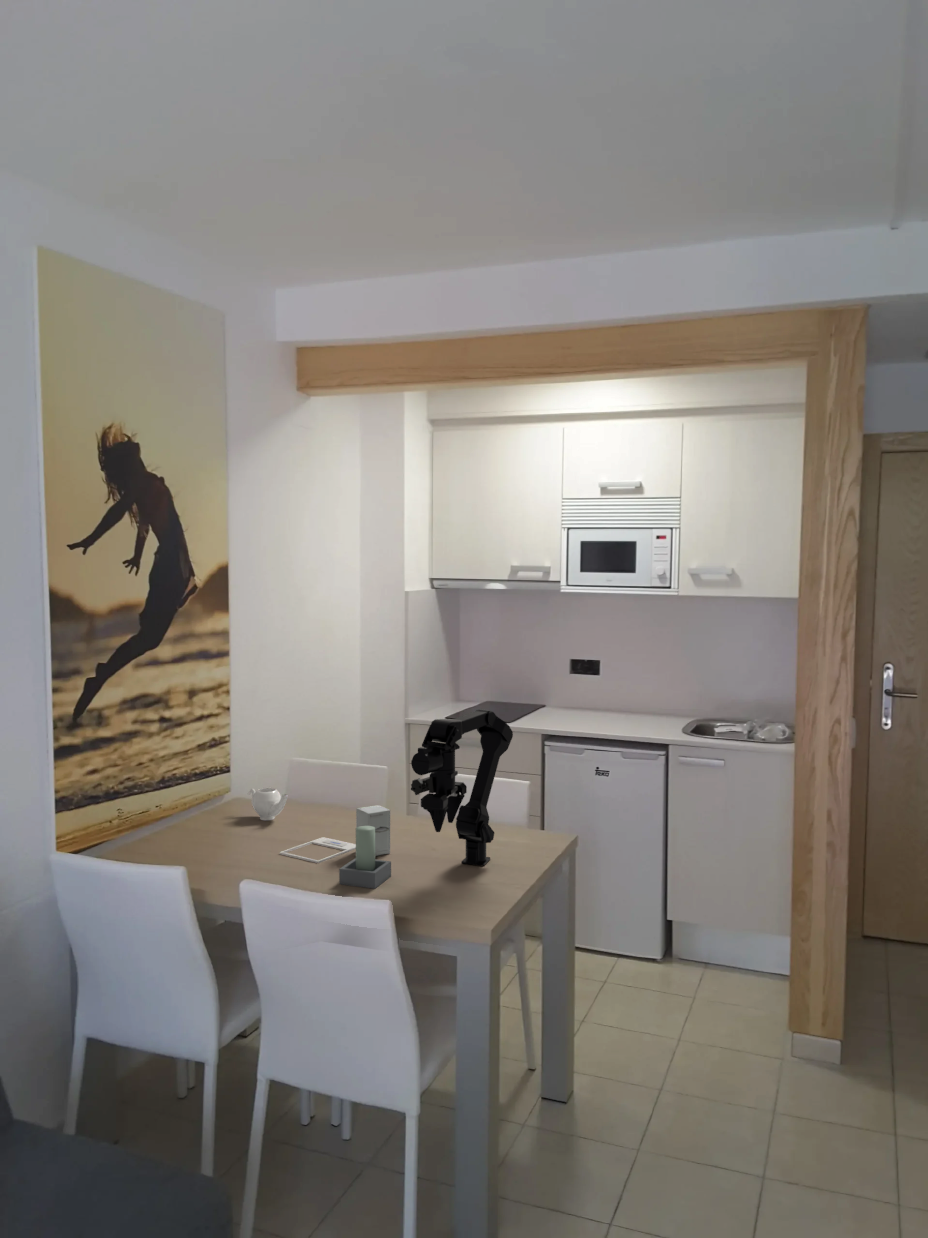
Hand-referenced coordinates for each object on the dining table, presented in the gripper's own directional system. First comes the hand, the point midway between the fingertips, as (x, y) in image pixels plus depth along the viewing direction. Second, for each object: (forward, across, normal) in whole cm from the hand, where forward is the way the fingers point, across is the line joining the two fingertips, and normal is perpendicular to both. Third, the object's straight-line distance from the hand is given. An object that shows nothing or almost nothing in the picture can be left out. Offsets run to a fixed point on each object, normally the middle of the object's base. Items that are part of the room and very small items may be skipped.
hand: (444, 827), depth 253 cm
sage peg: (+12, +10, -18) cm, 24 cm away
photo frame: (+14, -9, -41) cm, 44 cm away
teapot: (+13, -33, -73) cm, 81 cm away
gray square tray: (+13, +10, -18) cm, 24 cm away
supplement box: (+13, -12, -26) cm, 32 cm away
